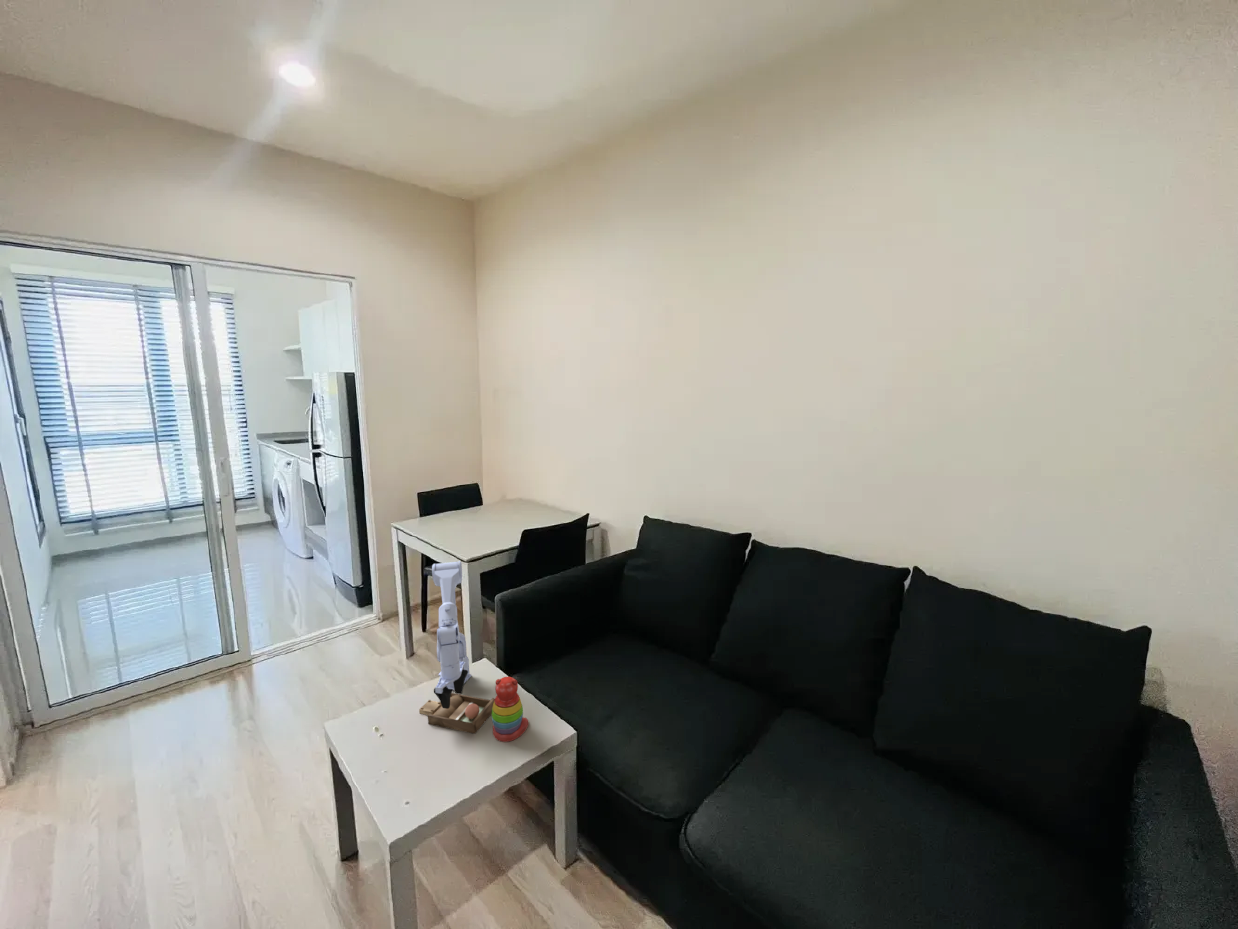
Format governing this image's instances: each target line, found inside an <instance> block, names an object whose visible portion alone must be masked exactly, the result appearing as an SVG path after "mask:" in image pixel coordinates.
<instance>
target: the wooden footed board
mask: <svg viewBox="0 0 1238 929" xmlns="http://www.w3.org/2000/svg"><path fill="white" fill-rule="evenodd" d="M441 706H442V705H441V702H440V701H436V700H435V701H434V700H431V699H428V700H427V701H426V702H425V703H424V704H423V705H422V706H421V707H420V708H419V714H421V715H425V716H428V715H429V714H431V715H433V714H434V713H435V712H436V711H437V710H438V709H439V708H440V707H441Z"/></svg>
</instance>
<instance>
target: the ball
mask: <svg viewBox="0 0 1238 929" xmlns="http://www.w3.org/2000/svg"><path fill="white" fill-rule="evenodd" d="M478 714H479V707H478V705H477V704H470V705H468V706H467V707H466V710H465V715H466V717H467V718H469V719H474V718H476V717H477V716H478Z"/></svg>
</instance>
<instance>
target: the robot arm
mask: <svg viewBox="0 0 1238 929" xmlns="http://www.w3.org/2000/svg"><path fill="white" fill-rule="evenodd" d="M431 575H432V581H433V583H434V585H435V586H436V587H440V593H441V594H440V595H441V601H442V602H441V603H442V604H441V605H440V606H439V607H438V628H437V629H436V640H437V641H436V658H437V660H436V661H437V662H439V663H440V672H439V673H438V677H439V680H438V682H437V684H436V686H435V687H434V688H433V693H434V694H435V695H436V697H437V698H438V700H439V702H441V705H442V707H443V708H446V709H449V707H450V697H451V693H453V691H454V693H456V694H461V695H462V693H463V690H464V686H465V683H466V682H468V681H469V679H470V678H471V677H472V676H473V675H472V673H470V660H469V656H468V655H467V640H466V636H465V634H463V633H462V632H460V626H459V621H458V607H457V602H456V588H457V585H459V584H462V581H463V565H462V561H461V560H458V561H450V562H442V563H439V562H438V563H433V564H432V565H431Z"/></svg>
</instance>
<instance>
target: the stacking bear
mask: <svg viewBox="0 0 1238 929" xmlns="http://www.w3.org/2000/svg"><path fill="white" fill-rule="evenodd" d="M518 689H519V683H518V680H517V679H515V678H514V677H511V676H504V677H502V678H497V679H496V680H495V695H496V696H495V697H494V698H495V700H494V703H493V708H492V714H491V721H492V723H493V724H492V735H493V737H494V738H495V740H497V741H499V742H504V743H505V742H512V741H515V740H516V739H518V738H520V737H521V736H522V735H523V734H524V733H525V732H526V731H527V729H528V726H529V725H530V724H529V719H527V717H524V716H523V715H524V707H523V703H522V700H521V697H520V695H519V693H518Z"/></svg>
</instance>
